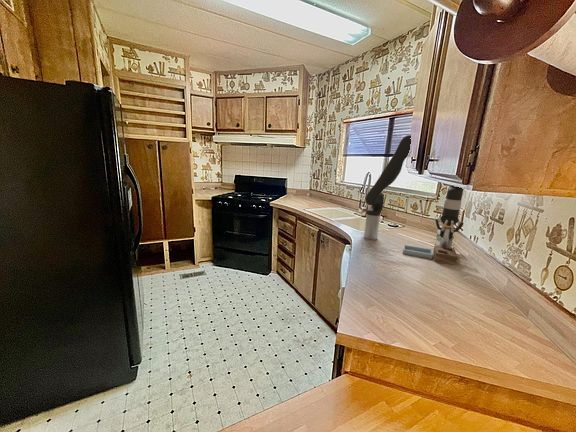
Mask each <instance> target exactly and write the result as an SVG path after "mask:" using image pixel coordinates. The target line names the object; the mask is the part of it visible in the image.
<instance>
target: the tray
mask: <svg viewBox="0 0 576 432" xmlns="http://www.w3.org/2000/svg"><path fill="white" fill-rule="evenodd" d="M402 249H403V250H402V254H403V255H408V256H414V257H419V258H424V259H429V260H433V257H434V254H433V249H432V248H431V249H430V248H425V247H419V246H413V245H409V244H408V245H407V244H404V245H403V248H402Z"/></svg>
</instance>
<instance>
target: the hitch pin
mask: <svg viewBox="0 0 576 432" xmlns="http://www.w3.org/2000/svg"><path fill="white" fill-rule="evenodd" d="M450 231H451V226H448V225H446V227H445V228H444V233H443V238H442V241H441V246H440V247H442V248H447V245H448V241H449V236H450Z"/></svg>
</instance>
